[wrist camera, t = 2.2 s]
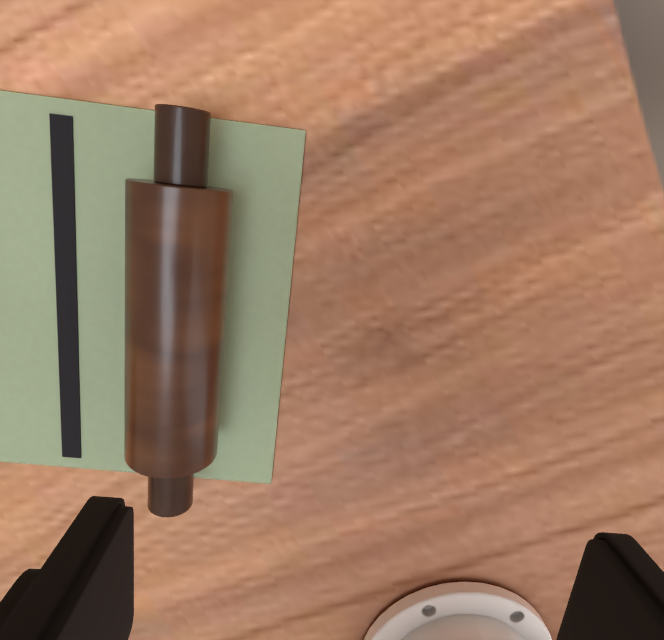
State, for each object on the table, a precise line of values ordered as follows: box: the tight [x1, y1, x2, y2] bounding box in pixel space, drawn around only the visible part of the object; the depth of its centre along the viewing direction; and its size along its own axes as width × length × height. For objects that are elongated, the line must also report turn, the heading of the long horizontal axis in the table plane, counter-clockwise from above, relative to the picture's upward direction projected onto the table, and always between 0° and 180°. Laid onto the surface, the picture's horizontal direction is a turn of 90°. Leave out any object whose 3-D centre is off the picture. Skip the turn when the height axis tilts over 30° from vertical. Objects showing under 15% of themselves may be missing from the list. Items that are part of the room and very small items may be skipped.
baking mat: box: [0, 90, 306, 484], centre depth 24 cm, size 24×19×1 cm
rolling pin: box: [124, 104, 233, 517], centre depth 23 cm, size 4×19×4 cm, turn 173°
